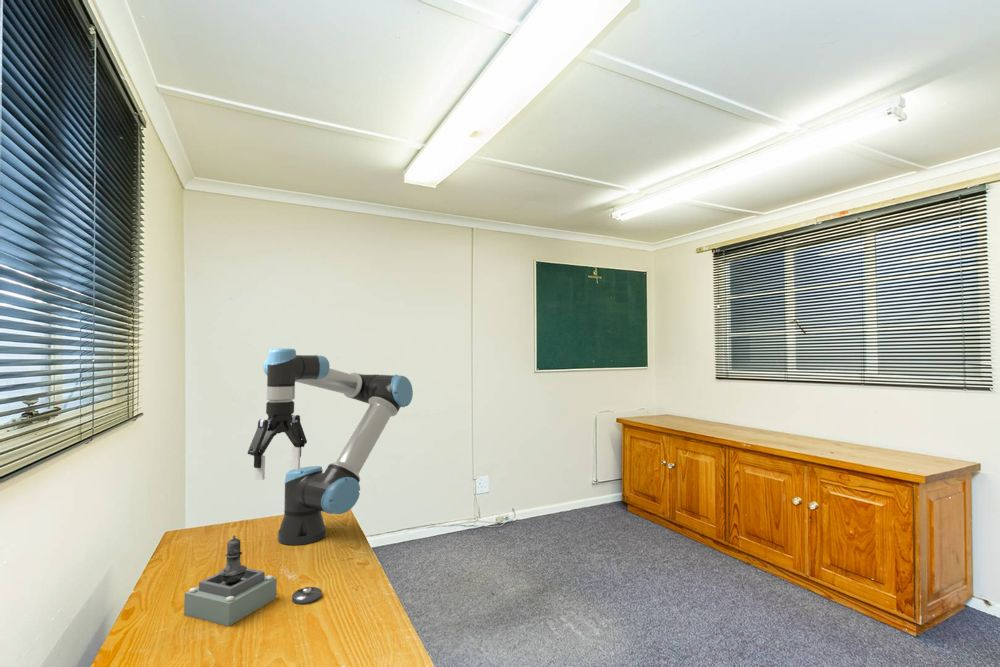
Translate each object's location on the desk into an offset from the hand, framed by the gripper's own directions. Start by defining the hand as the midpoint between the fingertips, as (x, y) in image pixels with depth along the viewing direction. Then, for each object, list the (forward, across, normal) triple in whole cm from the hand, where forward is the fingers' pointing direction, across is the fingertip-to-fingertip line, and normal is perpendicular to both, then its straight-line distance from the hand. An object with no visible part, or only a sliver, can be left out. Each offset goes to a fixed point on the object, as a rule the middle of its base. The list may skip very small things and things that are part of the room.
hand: (278, 474), depth 143 cm
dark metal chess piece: (+22, +21, +7) cm, 31 cm away
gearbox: (+27, +21, +6) cm, 34 cm away
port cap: (+27, +11, +21) cm, 36 cm away
